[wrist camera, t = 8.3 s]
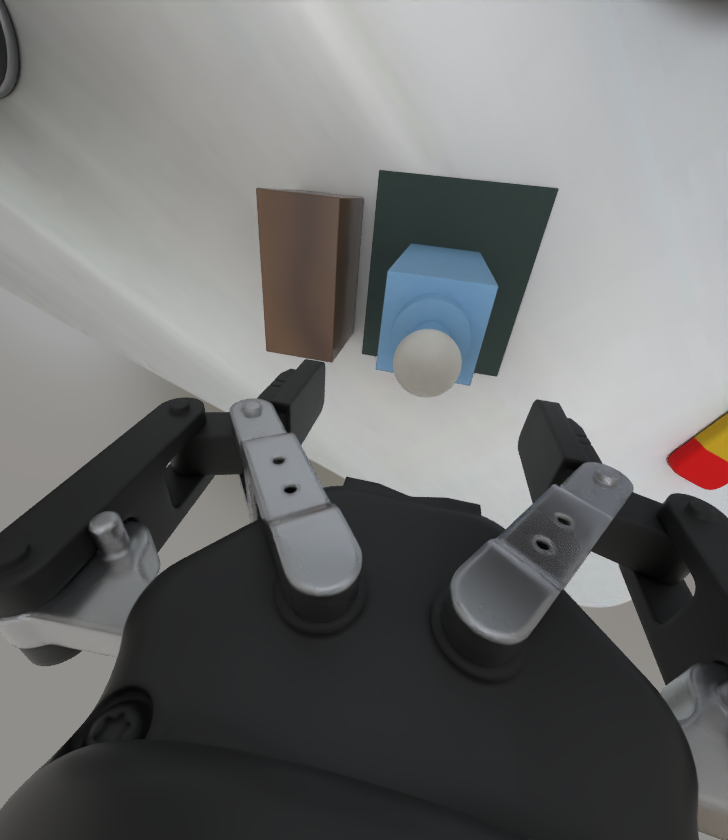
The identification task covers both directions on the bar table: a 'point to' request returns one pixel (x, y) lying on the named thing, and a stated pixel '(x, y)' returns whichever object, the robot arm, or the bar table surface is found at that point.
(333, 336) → the block
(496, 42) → the bar table surface
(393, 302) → the bottle
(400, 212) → the mat
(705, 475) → the popsicle
